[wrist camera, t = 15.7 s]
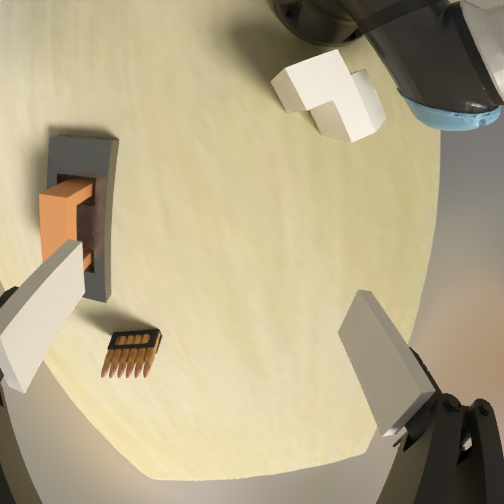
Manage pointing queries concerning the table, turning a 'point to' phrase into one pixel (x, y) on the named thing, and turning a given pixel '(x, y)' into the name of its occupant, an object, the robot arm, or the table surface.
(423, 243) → the table surface
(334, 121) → the corner bracket
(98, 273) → the gray slotted base board
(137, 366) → the ammunition clip
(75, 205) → the clip
